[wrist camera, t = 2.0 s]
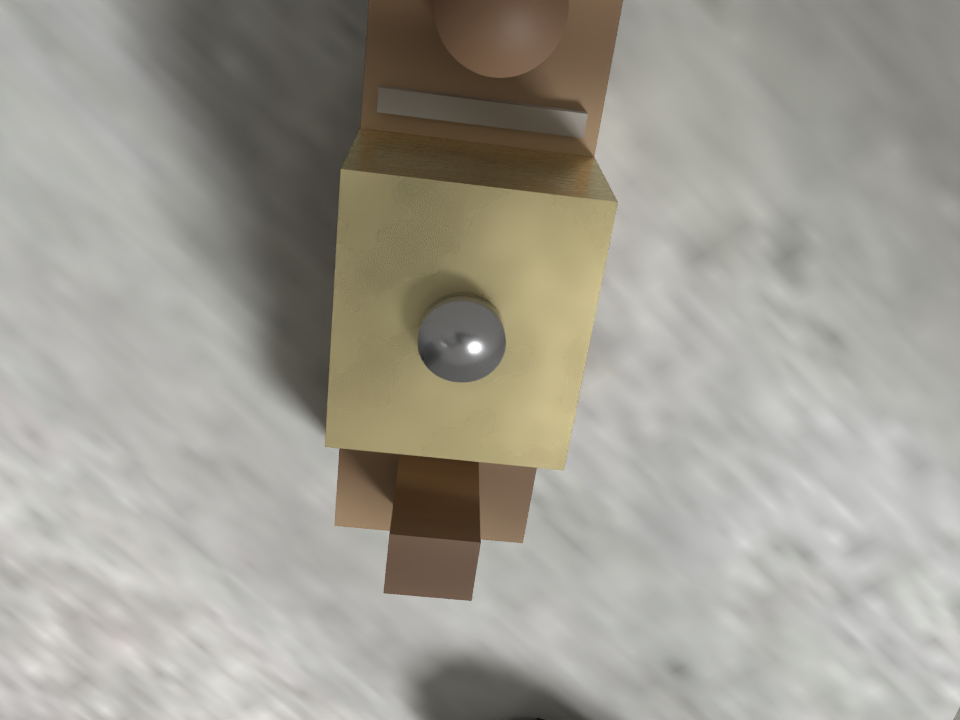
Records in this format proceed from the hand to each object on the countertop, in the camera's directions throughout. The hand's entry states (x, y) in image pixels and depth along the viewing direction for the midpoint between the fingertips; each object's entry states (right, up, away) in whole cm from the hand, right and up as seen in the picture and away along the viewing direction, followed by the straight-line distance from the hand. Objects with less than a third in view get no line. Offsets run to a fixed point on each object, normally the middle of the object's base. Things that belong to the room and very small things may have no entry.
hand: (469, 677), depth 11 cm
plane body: (0, +8, +16) cm, 18 cm away
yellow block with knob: (0, +7, +13) cm, 14 cm away
